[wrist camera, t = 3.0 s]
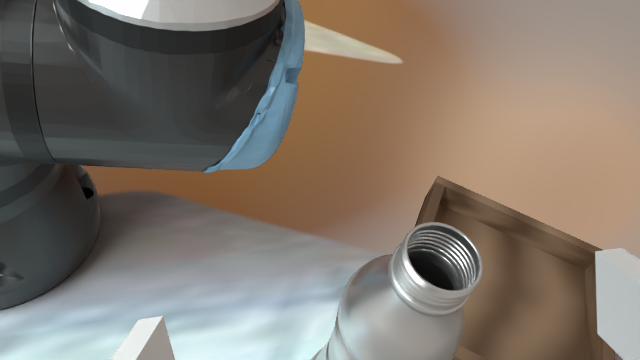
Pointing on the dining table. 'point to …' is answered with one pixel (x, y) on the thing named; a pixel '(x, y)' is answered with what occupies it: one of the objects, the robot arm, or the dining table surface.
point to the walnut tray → (521, 282)
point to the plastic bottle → (408, 300)
